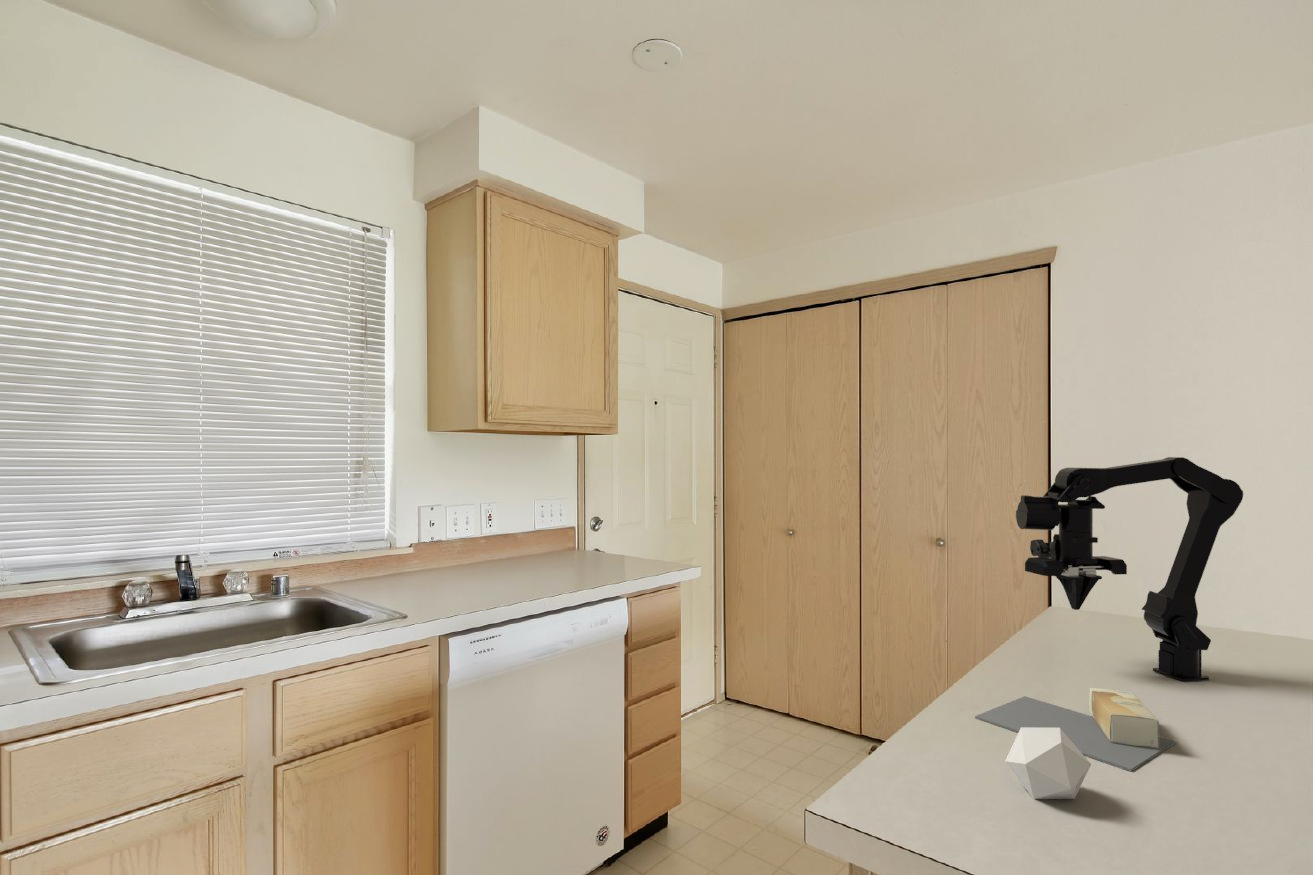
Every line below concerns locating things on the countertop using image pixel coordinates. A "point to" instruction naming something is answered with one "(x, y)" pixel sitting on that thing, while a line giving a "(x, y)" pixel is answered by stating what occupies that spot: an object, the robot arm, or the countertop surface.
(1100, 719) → the skincare box
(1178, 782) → the countertop surface
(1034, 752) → the die
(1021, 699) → the mat
